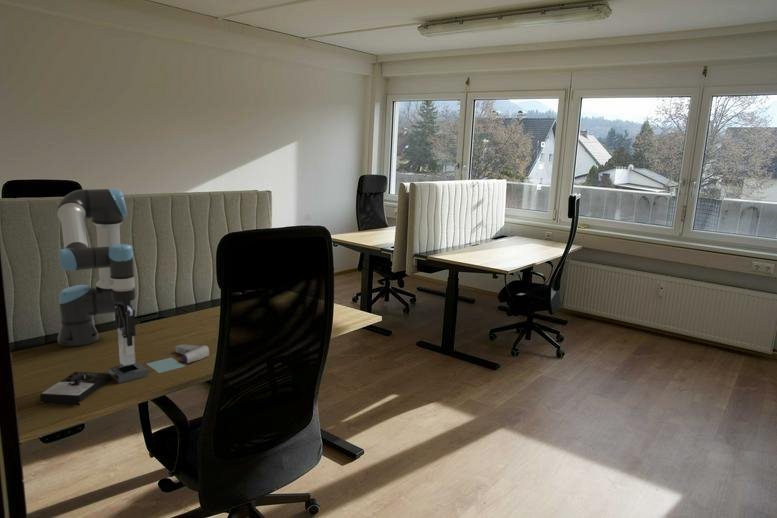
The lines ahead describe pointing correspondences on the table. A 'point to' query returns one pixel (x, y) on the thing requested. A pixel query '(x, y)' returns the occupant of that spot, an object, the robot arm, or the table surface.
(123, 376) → the socket block
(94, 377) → the multimeter
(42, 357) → the table surface
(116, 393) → the table surface
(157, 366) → the slate mat
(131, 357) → the long steel block
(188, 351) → the infrared thermometer
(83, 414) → the table surface
